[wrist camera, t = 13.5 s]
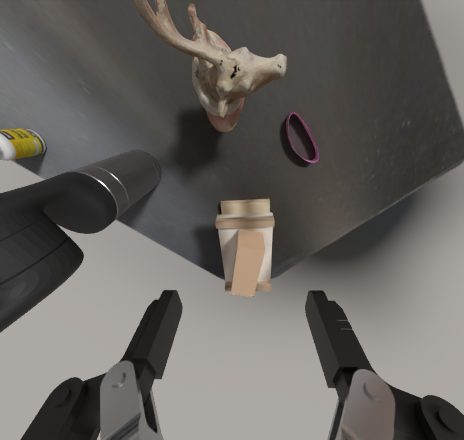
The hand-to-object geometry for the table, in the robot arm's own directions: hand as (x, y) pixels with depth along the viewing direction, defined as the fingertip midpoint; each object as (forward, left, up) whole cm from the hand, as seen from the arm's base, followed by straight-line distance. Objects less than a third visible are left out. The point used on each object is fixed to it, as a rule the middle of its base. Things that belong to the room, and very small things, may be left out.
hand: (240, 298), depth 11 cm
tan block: (0, -15, -20) cm, 25 cm away
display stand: (0, -15, -34) cm, 37 cm away
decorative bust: (-1, +13, -34) cm, 37 cm away
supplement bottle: (-47, +8, -34) cm, 59 cm away
